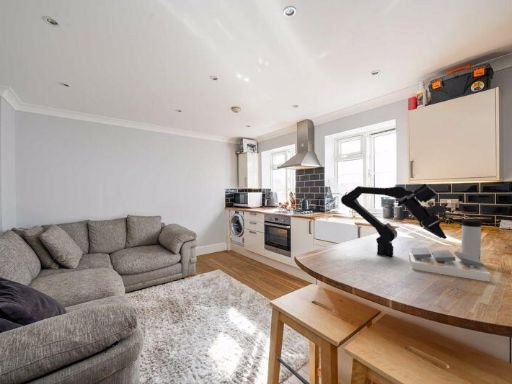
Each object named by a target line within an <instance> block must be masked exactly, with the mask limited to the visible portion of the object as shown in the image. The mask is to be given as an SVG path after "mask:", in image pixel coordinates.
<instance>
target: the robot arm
mask: <svg viewBox="0 0 512 384" xmlns="http://www.w3.org/2000/svg"><path fill="white" fill-rule="evenodd" d="M362 194H363V195H365V194H366V195H376V196H377V195H378V196H385V197H386V196H387V197H390V198H395V199H402V200H397V207H401V206H403V207H405V209H406V210H407V211H408V212H409V213H410V214H411V216H413V217H414V218H415V220H416V221H417V222H418V225H419V227H421V228H422V229H424V230H425V231H427V232H429V233H431V234H433V235H434V236H435V237H438V238H440V239H443V240H446V239H447V236H446V234H445V232H444V231H443V229H442V228H441V218H440V217H439V216H438V215H437V214H444V213H447V212H446V209H445V207H444V205H443V204H442V205H439V206H438V205H436V204H435V205H432V206H431V207H429V208H427V207H426V206H423V205H422V203H423V202H424V203H425V204H426V203H427V202H429V201H431V200H432V199H434V198H436V197H438V196H439V195H438V193H437V192H436V191H435V190H434V189H433V188H431V187H430V186H429V185H428V184H426V183H424V184H422V185H421V186H420V187H419V188H417V189H415V190H413V189H412V190H410V189H408V188H407V187H405V186H389V187H375V186H373V187H372V186H369V187H368V186H364V185H363V186H362V185H361V186H360V185H358V186H356V187H355V188H354V189H352V190H351V191H350V192H348V193H347V194H344V195H342V196H341V198H340V202H341V204H342V205H344V206H345V207H347V208H349V209H351V210H353V211H354V212H356V213H357V214H358V215H359V216H360V217H361V218H362V219H363V220H364V221H366V222H367V223H369V225H371V226H372V227H373V228H374V229H375V230H376V232H377V234H378V235H379V236H378V237H377V238H376V239H375V240H376V244H377V245H376V247H377V250H376V251H377V252H376V255H377V256H382V257H389V258H393V256H394V245H393V240H395V239H397V237H398V231H397V230H396V227H394V226H392V225H391V224H390V223H389V222H387V223H384V222H382V221H381V220H379V219H378V218H377V217H376V216H374V215H373V214H372V213H371V212H370V211H368V210H367V209H366V208H365V207H364V206H363V205H361V203H360V202H359V200H358V198H359V197H360V196H361V195H362ZM408 196H411V197H408Z"/></svg>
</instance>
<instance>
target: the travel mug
mask: <svg viewBox="0 0 512 384" xmlns="http://www.w3.org/2000/svg"><path fill="white" fill-rule="evenodd" d="M460 241H461V243H460V244H461V245H460V253H464V254H468V255H471V256H474V257H475V258H477V259H478V260H479V261H480V262H481V251H482V250H481V248H482V245H481V244H482V219H481V218H464V219H462V220H461V240H460Z"/></svg>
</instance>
